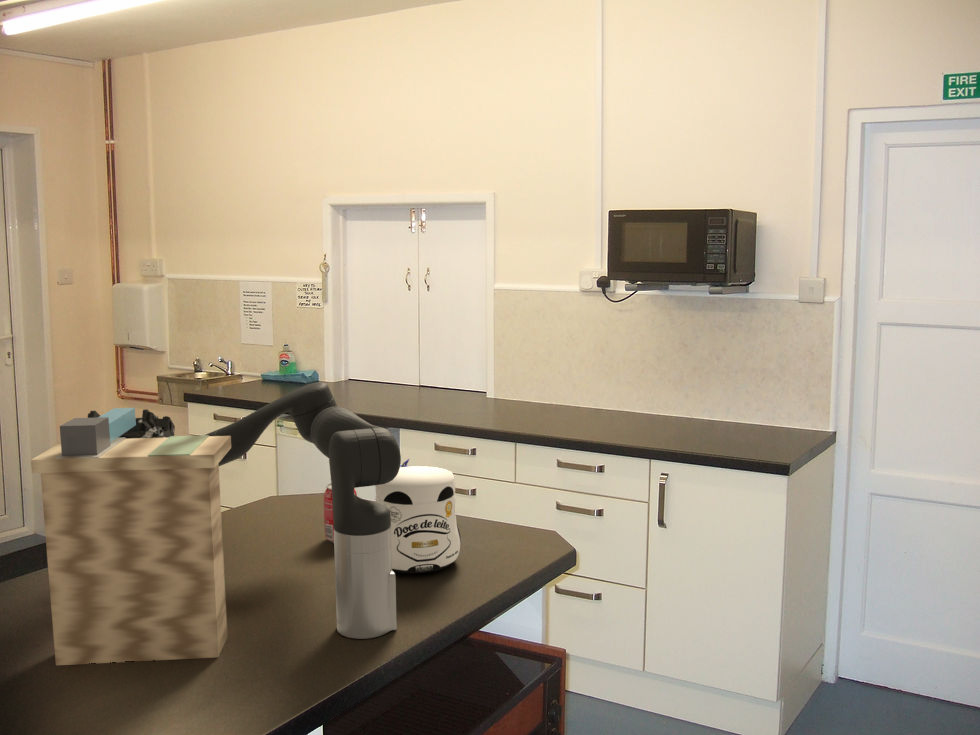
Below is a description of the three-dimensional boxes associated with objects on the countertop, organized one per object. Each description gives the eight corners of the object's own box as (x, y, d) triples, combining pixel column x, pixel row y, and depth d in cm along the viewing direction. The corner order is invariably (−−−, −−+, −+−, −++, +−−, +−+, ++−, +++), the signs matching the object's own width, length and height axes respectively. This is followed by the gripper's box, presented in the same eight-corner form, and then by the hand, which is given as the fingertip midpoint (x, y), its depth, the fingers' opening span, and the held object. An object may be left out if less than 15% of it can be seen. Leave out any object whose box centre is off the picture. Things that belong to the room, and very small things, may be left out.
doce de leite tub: (420, 588, 163) (418, 493, 161) (354, 567, 174) (351, 478, 171) (478, 561, 177) (477, 473, 175) (413, 543, 187) (412, 460, 185)
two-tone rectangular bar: (140, 424, 153) (138, 399, 152) (97, 455, 131) (95, 425, 130) (110, 425, 152) (108, 399, 152) (61, 456, 131) (59, 426, 130)
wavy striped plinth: (239, 622, 149) (230, 434, 144) (224, 658, 136) (213, 453, 132) (78, 630, 146) (64, 439, 142) (47, 667, 134) (30, 458, 129)
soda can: (363, 535, 193) (362, 482, 191) (349, 546, 186) (348, 490, 184) (333, 533, 194) (332, 480, 193) (319, 543, 188) (317, 488, 186)
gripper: (182, 462, 163) (159, 435, 148) (102, 465, 162) (71, 437, 147) (185, 423, 166) (163, 393, 151) (106, 425, 164) (76, 395, 150)
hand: (118, 415), depth 149 cm, fingers open, 8 cm apart
